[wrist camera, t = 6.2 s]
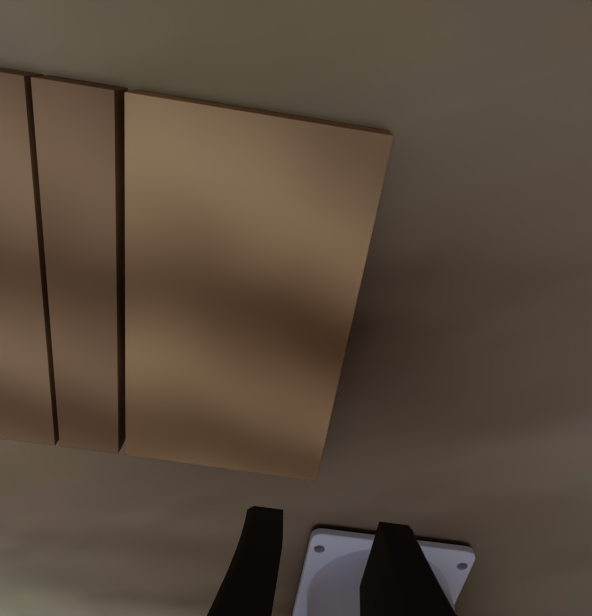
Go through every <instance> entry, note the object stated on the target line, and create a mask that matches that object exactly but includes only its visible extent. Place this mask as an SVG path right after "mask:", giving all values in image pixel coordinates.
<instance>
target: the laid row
mask: <svg viewBox="0 0 592 616" xmlns="http://www.w3.org/2000/svg"><path fill="white" fill-rule="evenodd" d="M125 92H127V88H124V87H117V86H111V85H105V84H99V83H93V82H86V81H80V80H74V79H68V78H61V77H55V76H43V74H37V73H30V72H24V71H18V70H12V69H6V68H0V439H7V440H15V441H23V442H31V443H39V444H46V445H54V446H55V445H56V443H57V442H58V440H59V442H60V446H62V447H70V448H78V449H85V450H93V451H101V452H109V453H117V454H118V453H119V451H120V449H121V447H122V445H123V443H124V441H125V439H126V410H125Z"/></svg>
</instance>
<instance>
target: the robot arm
mask: <svg viewBox="0 0 592 616" xmlns="http://www.w3.org/2000/svg"><path fill="white" fill-rule="evenodd" d="M282 541H283V510H281V509H273V508H265V507H257V506H253V507H251V508H249V509H247V514H246V519H245V523H244V527H243V530H242V534H241V537H240V540H239V543H238V546H237V549H236V551H235V554H234V556H233V559H232V561H231V564H230V566H229V569H228V571H227V573H226V576H225V578H224V580H223V582H222V584H221V587H220V589H219V591H218V593H217V596H216V598H215V600H214V602H213V604H212V606H211V608H210V610H209V612H208V614H207V616H271V614H272V607H273V601H274V595H275V588H276V582H277V575H278V569H279V563H280V556H281V550H282ZM318 545H321V546H318ZM474 561H475V554H474V551H473V549H472V548H470V547H467V546H462V545H453V544H445V543H437V542H429V541H421V540H417V539H416V537H415V535H414V533H413V531H412V529H411V528H410V527H409V525H401V524H393V523H385V522H379V525H378V528H377V531H376V534H375V535H372V534H364V533H356V532H348V531H340V530H332V529H324V528H319V529H315V530H314V531H312V533H311V535H310V539H309V544H308V548H307V552H306V556H305V561H304V565H303V569H302V574H301V578H300V582H299V586H298V591H297V595H296V599H295V604H294V608H293V612H292V616H457V615H456V611H455V607H454V605H455V603H456V600H457V598H458V596H459V594H460V592H461V589H462V587H463V585H464V583H465V581H466V579H467V576H468V574H469V572H470V570H471V568H472V565H473V563H474Z"/></svg>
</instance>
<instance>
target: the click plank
mask: <svg viewBox="0 0 592 616" xmlns="http://www.w3.org/2000/svg"><path fill="white" fill-rule="evenodd" d="M393 138H394V135H393V134H392V133H391V132H390V131H388V130H382V129H376V128H370V127H363V126H357V125H351V124H345V123H339V122H333V121H326V120H320V119H314V118H308V117H302V116H296V115H290V114H283V113H277V112H271V111H265V110H259V109H253V108H247V107H240V106H234V105H228V104H222V103H216V102H210V101H204V100H197V99H191V98H185V97H179V96H173V95H167V94H161V93H154V92H148V91H142V90H133V91H128V92H125V410H126V455H132V456H139V457H146V458H153V459H160V460H167V461H175V462H182V463H189V464H196V465H203V466H210V467H217V468H224V469H232V470H239V471H246V472H253V473H260V474H267V475H274V476H281V477H289V478H296V479H303V480H310V481H316V480H317V475H318V471H319V466H320V462H321V457H322V453H323V449H324V444H325V440H326V435H327V431H328V426H329V422H330V417H331V413H332V409H333V404H334V400H335V395H336V391H337V386H338V382H339V378H340V373H341V369H342V364H343V360H344V355H345V351H346V346H347V342H348V338H349V333H350V329H351V324H352V320H353V315H354V311H355V306H356V302H357V298H358V293H359V289H360V284H361V280H362V275H363V271H364V267H365V262H366V258H367V253H368V249H369V244H370V240H371V235H372V231H373V227H374V222H375V218H376V213H377V209H378V204H379V200H380V195H381V191H382V187H383V182H384V178H385V173H386V169H387V164H388V160H389V156H390V151H391V147H392V142H393Z"/></svg>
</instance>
